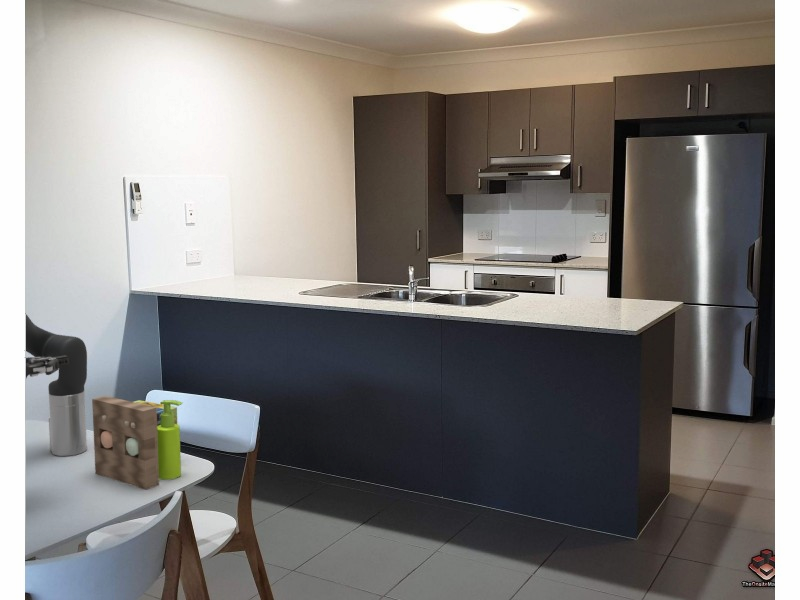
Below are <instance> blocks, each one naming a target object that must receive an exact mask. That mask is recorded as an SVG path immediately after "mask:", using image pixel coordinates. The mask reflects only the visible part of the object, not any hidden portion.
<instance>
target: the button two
mask: <svg viewBox="0 0 800 600" xmlns="http://www.w3.org/2000/svg"><path fill="white" fill-rule="evenodd" d="M126 449H127V451H128V453H129V454H130V455H132V456H134V455H137V454H138V439H137V438H133V437H132V438H129V439H128V440H127V441H126Z"/></svg>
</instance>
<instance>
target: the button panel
mask: <svg viewBox="0 0 800 600" xmlns="http://www.w3.org/2000/svg"><path fill="white" fill-rule="evenodd" d="M91 400H92V424H93V428H92V429H93V445H94V446H93V449H94V471H95V475H99V476H102V477H105V478H108V479H112V480H114V481H118V482H121V483H124V484H127V485H130V486H133V487H137V488H140V489H143V490H149V489H151V488H154V487H156V486H159V485H160V479H159V468H158V438H157V407H152V406H148V405H143V404H139V403H135V402H134V401H130V400H126V399H120V398H116V397H111V396H108V395H103V396H98V397H94V398H92V399H91ZM104 431H111V432H112V442H113V447H111V448H105V447H104V446H103V444H102V442H101V434H102V433H103V432H104ZM132 437H133V438H137V439H138V454H137V455H134V456H132V455H130V454H129V453H128V451H127V449H126V441H127V440H128V439H129V438H132Z"/></svg>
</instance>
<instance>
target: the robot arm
mask: <svg viewBox="0 0 800 600" xmlns="http://www.w3.org/2000/svg"><path fill="white" fill-rule="evenodd" d="M87 351H88V350H87V347H86V344H85V342H84V340H83V339H81V338H80V337H77V336H72V335H63V334H57V333H53V332H51V331H48V330H45V329H43V328H41V327H39V326H37V325H36V324H35V323H33V321H32V320H31V319H30V317H29V315H28V314H26V351H25V352H27V353H28V354H29V355H32V356H31V357H25V358H26V379H27V378H28V376H29V377H38V376H39V375H43V374H45V375H46V376H50V375H52V374H54V373H56V372H57V371H58V375H57V376H58V377H57V379H55V380H53V381H51V382H50V383H49V384H48V386H47V387H48V402H49V403H48V405H49V417H48V430H49V431H48V432H49V433H48V435H49V450H50V451H51V454H52V455H54V456H59V457H68V456H75V455H79V454H82V453H84V452H86V451H87V449H88V443H87V441H88V439H87V420H86V419H87V417H86V399H85V398H86V396H85V384H86V382H87V378H88V352H87Z"/></svg>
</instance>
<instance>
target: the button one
mask: <svg viewBox="0 0 800 600" xmlns="http://www.w3.org/2000/svg"><path fill="white" fill-rule="evenodd" d="M101 442H102V444H103V446H104V447H105V448H111V447H113V442H112V432H111V431H104V432H103V433H102V434H101Z"/></svg>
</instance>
